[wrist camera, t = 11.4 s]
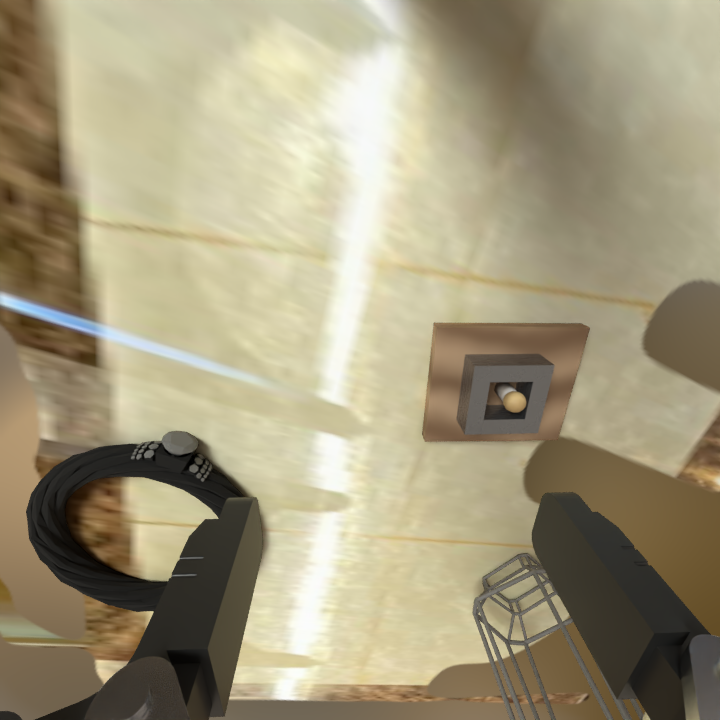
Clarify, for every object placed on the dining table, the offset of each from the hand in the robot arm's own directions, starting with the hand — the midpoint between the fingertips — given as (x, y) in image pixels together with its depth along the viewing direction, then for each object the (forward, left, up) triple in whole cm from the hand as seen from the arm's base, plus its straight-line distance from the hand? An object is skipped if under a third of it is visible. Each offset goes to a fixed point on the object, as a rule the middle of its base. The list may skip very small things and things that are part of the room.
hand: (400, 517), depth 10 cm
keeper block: (+10, +16, -28) cm, 34 cm away
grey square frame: (+10, +15, -27) cm, 32 cm away
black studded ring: (+30, -26, -29) cm, 49 cm away
